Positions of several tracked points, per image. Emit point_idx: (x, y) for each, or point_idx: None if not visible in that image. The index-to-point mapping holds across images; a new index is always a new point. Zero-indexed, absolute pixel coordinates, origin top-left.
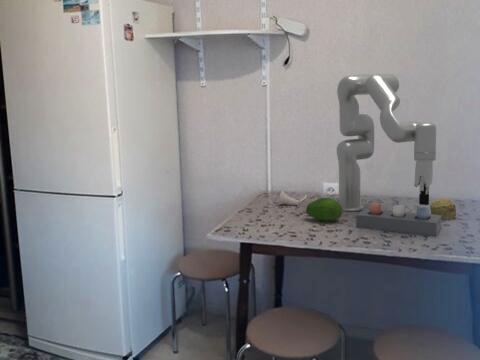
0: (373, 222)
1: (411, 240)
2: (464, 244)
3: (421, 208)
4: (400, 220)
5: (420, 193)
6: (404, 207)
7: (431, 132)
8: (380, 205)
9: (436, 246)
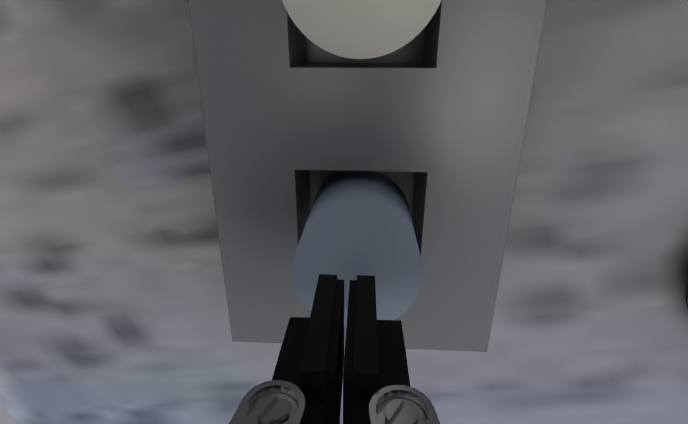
0: None
1: (94, 168)
2: (189, 405)
3: (354, 262)
4: (200, 53)
5: (245, 412)
6: (359, 58)
7: None
8: None
9: (76, 305)
